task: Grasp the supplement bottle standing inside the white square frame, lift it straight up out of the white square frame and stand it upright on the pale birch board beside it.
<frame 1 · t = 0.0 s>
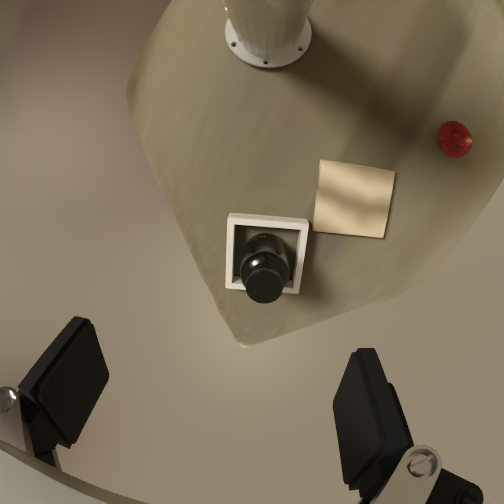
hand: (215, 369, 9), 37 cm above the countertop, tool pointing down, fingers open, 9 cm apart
white square frame: (265, 251, 48), on the countertop
board: (353, 199, 43), on the countertop
supplement bottle: (265, 250, 48), resting in white square frame
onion: (442, 137, 38), on the countertop
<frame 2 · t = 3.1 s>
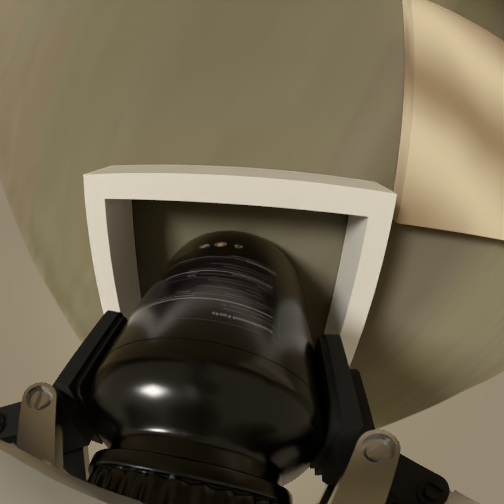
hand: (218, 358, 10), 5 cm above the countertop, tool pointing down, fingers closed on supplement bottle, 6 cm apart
white square frame: (232, 290, 14), on the countertop
board: (494, 133, 10), on the countertop
supplement bottle: (233, 288, 15), resting in white square frame, touching gripper
when the fingers open (7 cm above the countertop, at t = 10.2 s): supplement bottle drops 1 cm, resting on board.
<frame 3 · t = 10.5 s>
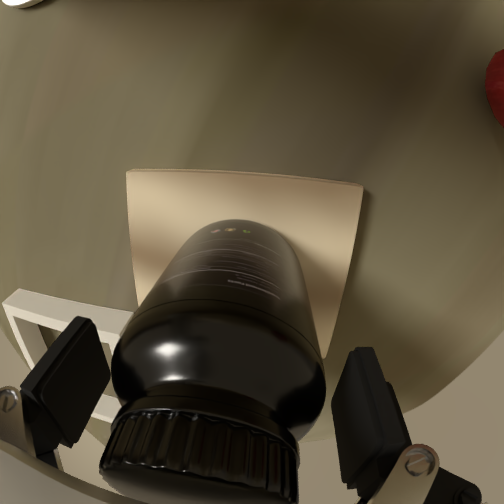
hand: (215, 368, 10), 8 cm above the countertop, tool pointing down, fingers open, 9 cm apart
white square frame: (85, 357, 21), on the countertop
board: (237, 269, 17), on the countertop
supplement bottle: (239, 274, 16), point 1 cm above the countertop, touching board
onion: (490, 96, 11), on the countertop
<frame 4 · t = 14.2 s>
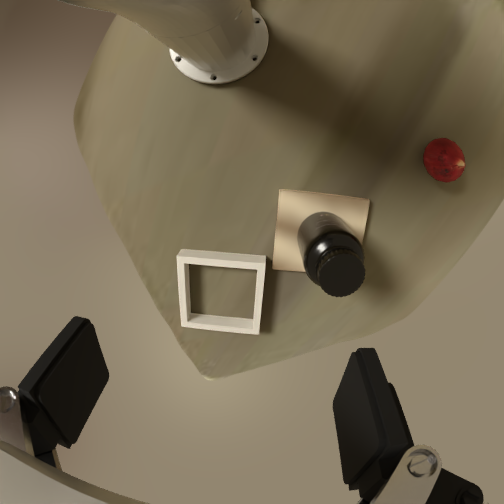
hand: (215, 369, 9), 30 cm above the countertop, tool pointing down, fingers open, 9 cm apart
white square frame: (222, 289, 43), on the countertop
board: (319, 232, 39), on the countertop
supplement bottle: (321, 234, 38), point 1 cm above the countertop, touching board
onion: (430, 156, 34), on the countertop
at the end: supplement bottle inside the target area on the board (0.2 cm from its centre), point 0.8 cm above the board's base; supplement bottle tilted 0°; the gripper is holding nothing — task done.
